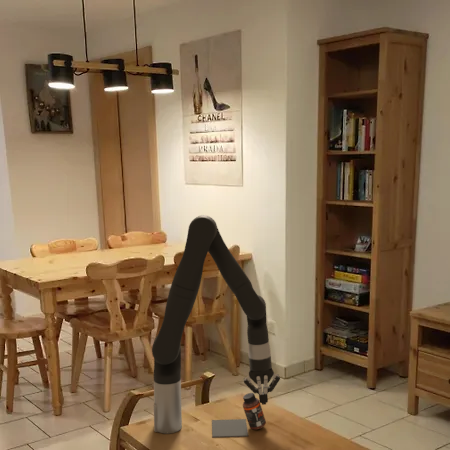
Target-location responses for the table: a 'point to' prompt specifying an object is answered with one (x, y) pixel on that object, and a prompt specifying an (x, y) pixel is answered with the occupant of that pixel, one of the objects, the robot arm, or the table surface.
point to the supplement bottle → (253, 411)
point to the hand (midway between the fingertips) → (263, 403)
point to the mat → (229, 428)
